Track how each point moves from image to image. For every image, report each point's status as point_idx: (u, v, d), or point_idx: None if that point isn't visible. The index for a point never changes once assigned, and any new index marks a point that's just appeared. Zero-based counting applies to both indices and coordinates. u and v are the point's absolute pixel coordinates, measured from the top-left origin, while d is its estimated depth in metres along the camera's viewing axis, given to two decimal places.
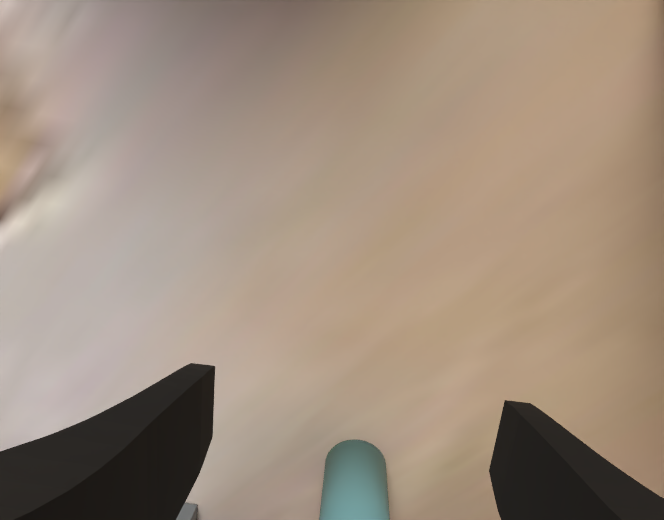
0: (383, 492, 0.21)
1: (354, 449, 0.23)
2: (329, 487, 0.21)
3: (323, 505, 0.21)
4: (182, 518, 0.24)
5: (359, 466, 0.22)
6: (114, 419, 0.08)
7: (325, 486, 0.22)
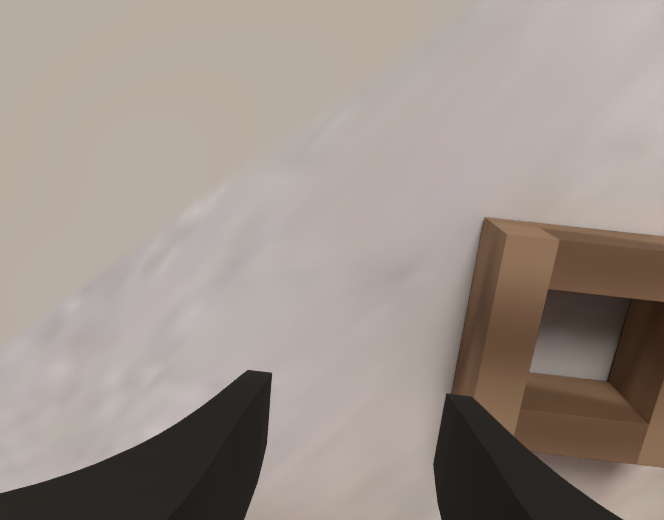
0: None
1: None
2: None
3: None
4: None
5: None
6: (193, 428, 0.08)
7: None
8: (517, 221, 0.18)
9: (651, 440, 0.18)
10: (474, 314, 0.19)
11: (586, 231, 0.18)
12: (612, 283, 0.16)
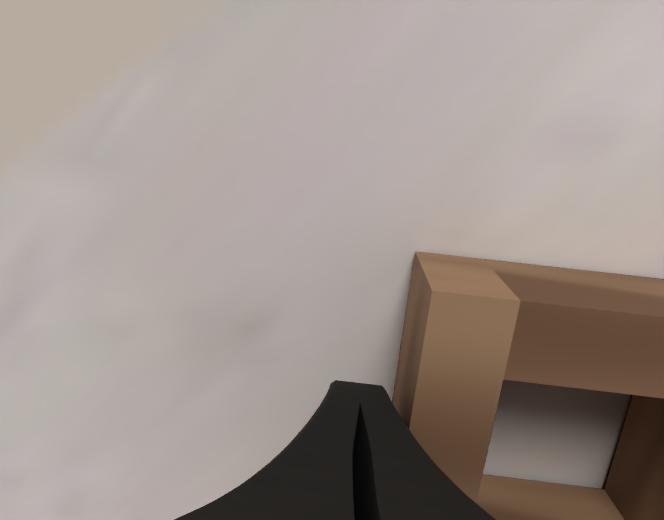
0: None
1: None
2: None
3: None
4: None
5: None
6: (316, 443, 0.08)
7: None
8: (464, 258, 0.12)
9: None
10: (398, 400, 0.12)
11: (569, 276, 0.11)
12: (610, 371, 0.10)
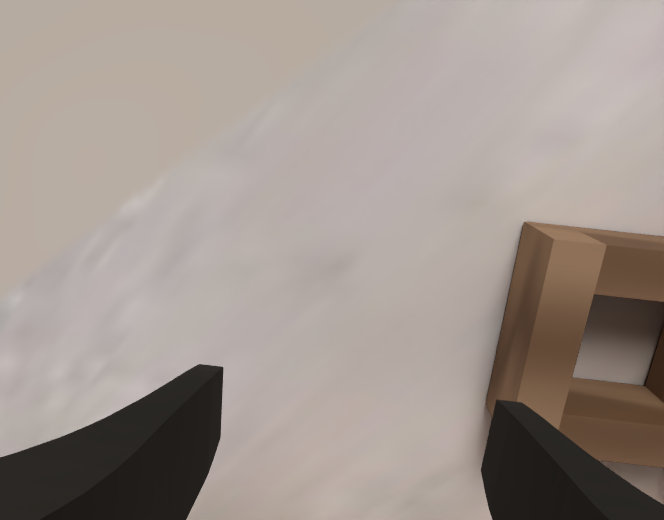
0: None
1: None
2: None
3: None
4: None
5: None
6: (126, 420, 0.08)
7: None
8: (557, 225, 0.18)
9: None
10: (514, 319, 0.19)
11: (628, 236, 0.18)
12: (658, 288, 0.16)
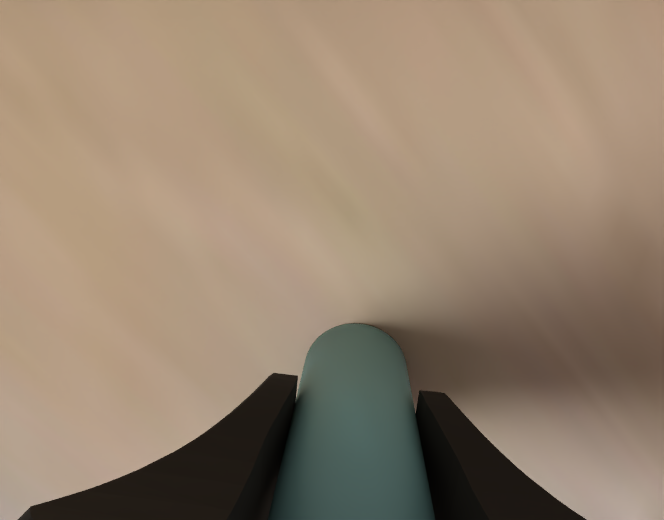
0: (318, 378, 0.11)
1: None
2: None
3: None
4: None
5: None
6: (229, 432, 0.08)
7: None
8: None
9: None
10: None
11: None
12: None
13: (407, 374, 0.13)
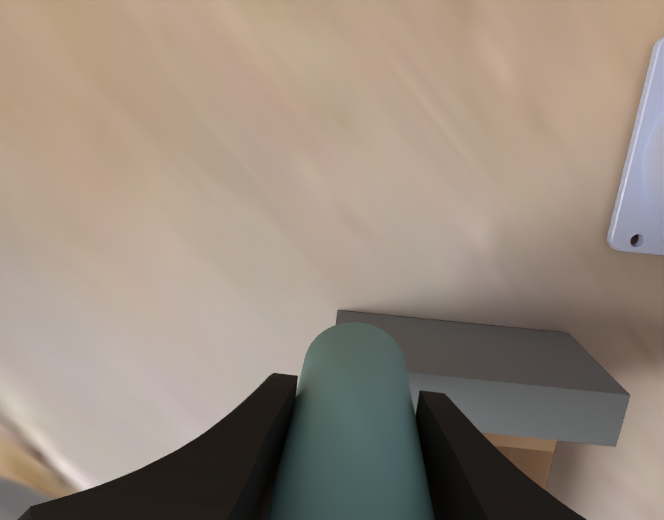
0: (316, 377, 0.11)
1: None
2: None
3: None
4: None
5: None
6: (229, 432, 0.08)
7: None
8: None
9: (528, 443, 0.19)
10: None
11: None
12: None
13: (406, 371, 0.13)
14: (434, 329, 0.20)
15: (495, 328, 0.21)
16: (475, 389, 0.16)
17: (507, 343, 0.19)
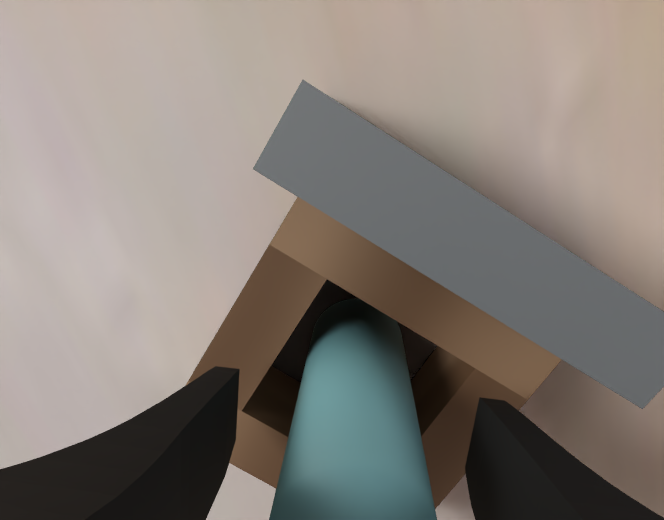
0: (323, 342, 0.13)
1: None
2: None
3: None
4: None
5: None
6: (148, 422, 0.08)
7: None
8: None
9: (500, 372, 0.13)
10: None
11: None
12: (263, 347, 0.13)
13: (401, 340, 0.15)
14: None
15: None
16: (500, 230, 0.10)
17: None
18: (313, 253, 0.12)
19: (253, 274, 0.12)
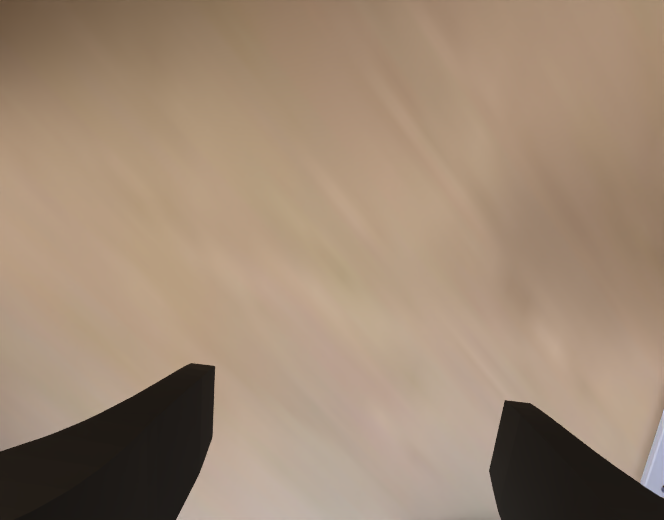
0: None
1: None
2: None
3: None
4: None
5: None
6: (114, 418, 0.08)
7: None
8: None
9: None
10: None
11: None
12: None
13: None
14: None
15: None
16: None
17: None
18: None
19: None
